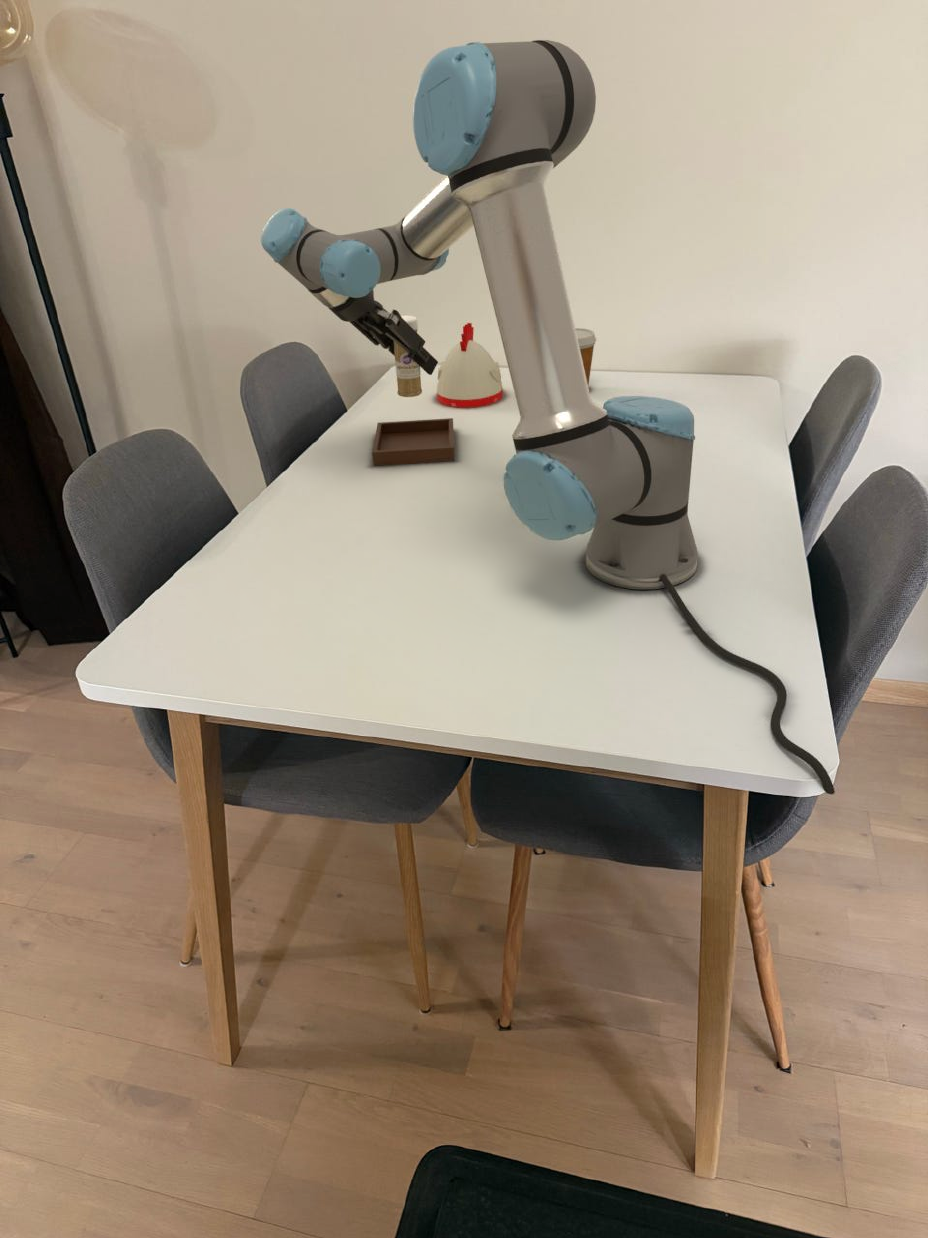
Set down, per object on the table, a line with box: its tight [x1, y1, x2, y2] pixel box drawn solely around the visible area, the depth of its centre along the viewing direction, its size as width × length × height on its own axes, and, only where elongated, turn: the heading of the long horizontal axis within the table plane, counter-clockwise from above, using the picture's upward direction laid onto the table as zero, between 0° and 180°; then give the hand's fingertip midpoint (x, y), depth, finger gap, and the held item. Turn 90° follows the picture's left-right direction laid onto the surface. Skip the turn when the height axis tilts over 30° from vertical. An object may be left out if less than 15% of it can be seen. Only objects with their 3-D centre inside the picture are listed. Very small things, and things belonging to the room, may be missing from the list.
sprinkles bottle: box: [394, 315, 423, 398], centre depth 160 cm, size 5×5×14 cm
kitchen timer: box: [436, 322, 503, 409], centre depth 189 cm, size 14×14×15 cm
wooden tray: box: [371, 417, 455, 467], centre depth 168 cm, size 16×15×3 cm
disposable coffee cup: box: [575, 327, 597, 386], centre depth 189 cm, size 10×10×12 cm
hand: (423, 365), depth 163 cm, fingers closed on sprinkles bottle, 4 cm apart
